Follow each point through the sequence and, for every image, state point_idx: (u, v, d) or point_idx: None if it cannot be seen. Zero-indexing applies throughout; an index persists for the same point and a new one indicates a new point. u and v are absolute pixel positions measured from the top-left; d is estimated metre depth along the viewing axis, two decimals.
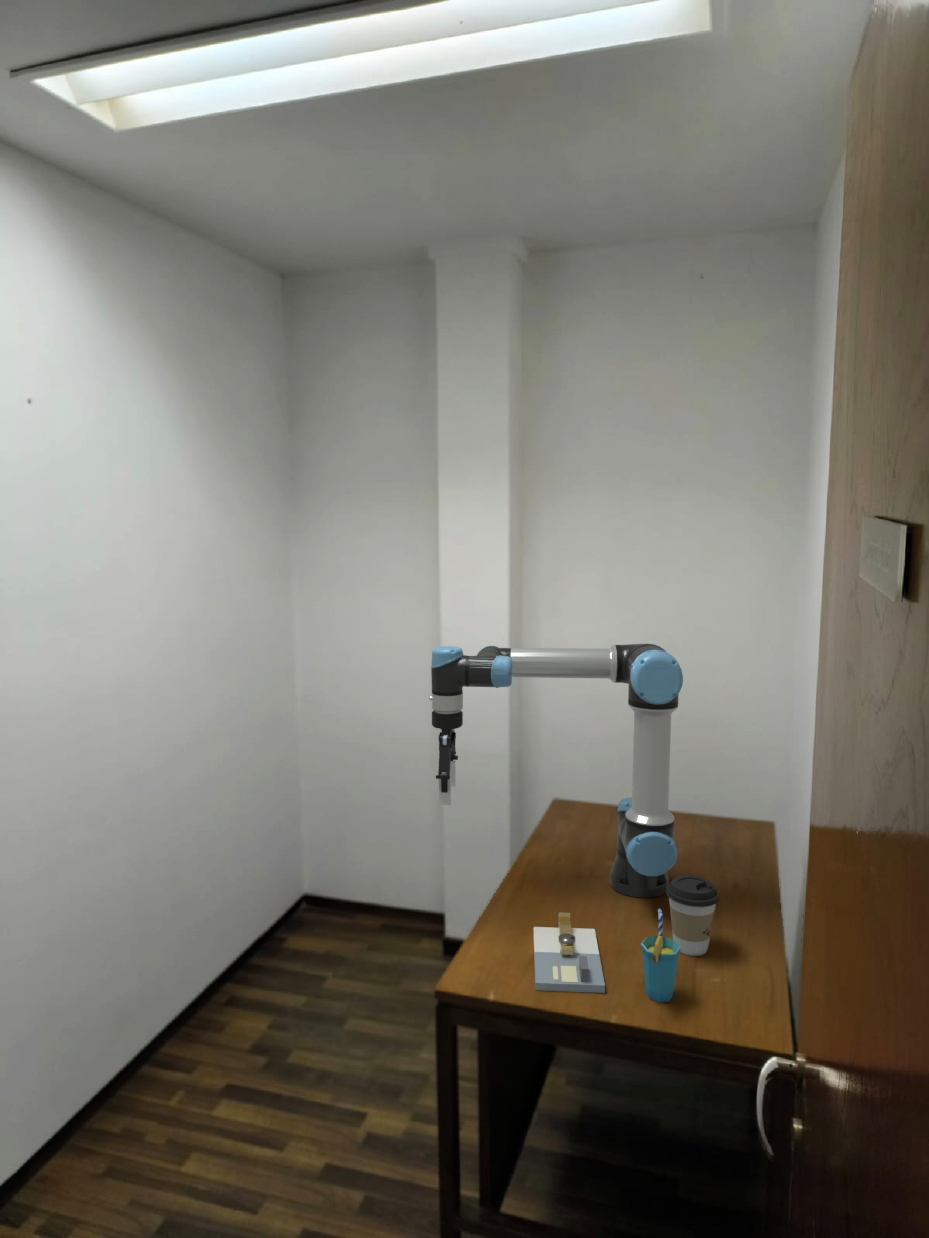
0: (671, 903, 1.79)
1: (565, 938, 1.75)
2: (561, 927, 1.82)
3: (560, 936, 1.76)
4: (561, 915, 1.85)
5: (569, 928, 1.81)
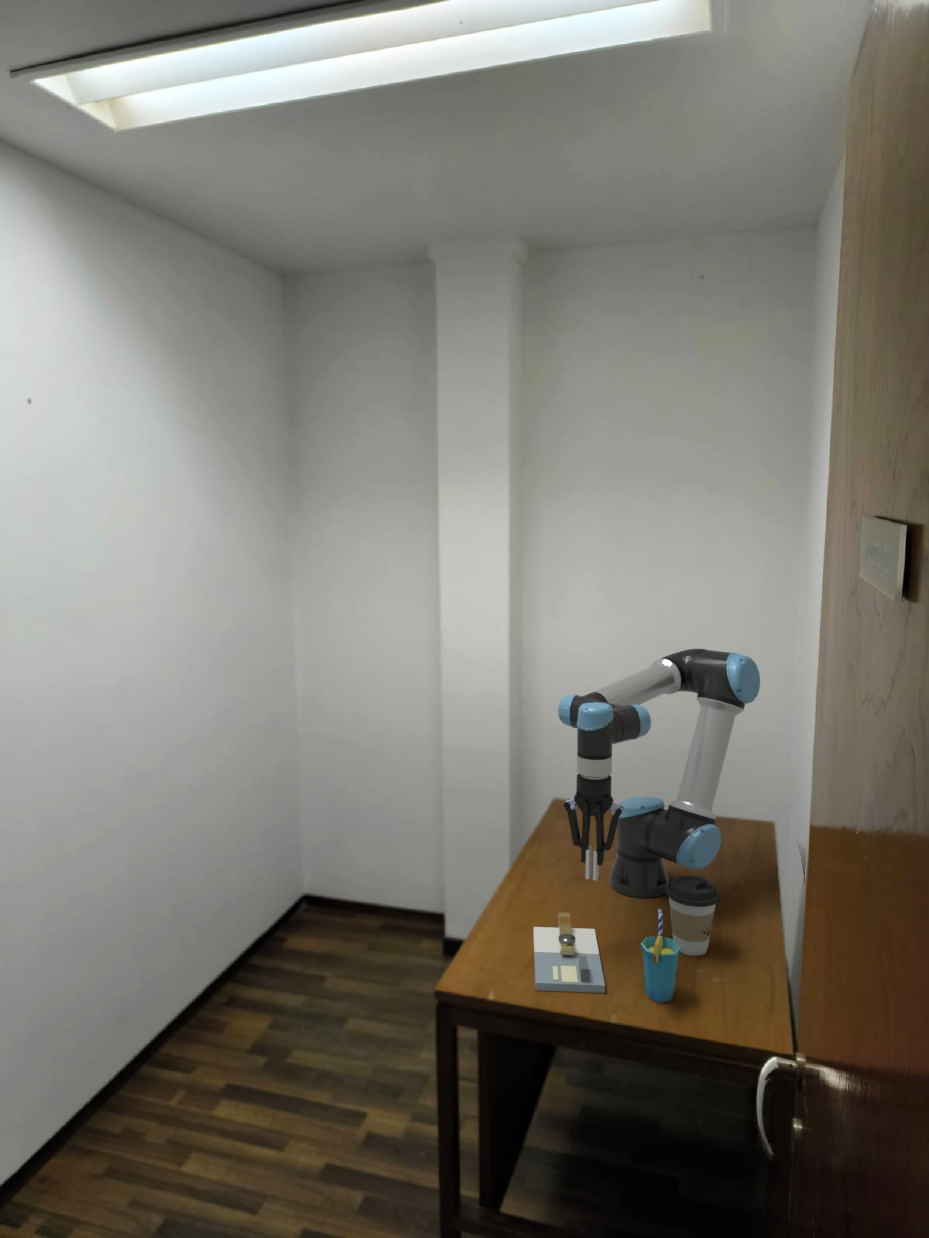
0: (671, 903, 1.79)
1: (565, 938, 1.75)
2: (561, 927, 1.82)
3: (560, 936, 1.76)
4: (561, 915, 1.85)
5: (569, 928, 1.81)
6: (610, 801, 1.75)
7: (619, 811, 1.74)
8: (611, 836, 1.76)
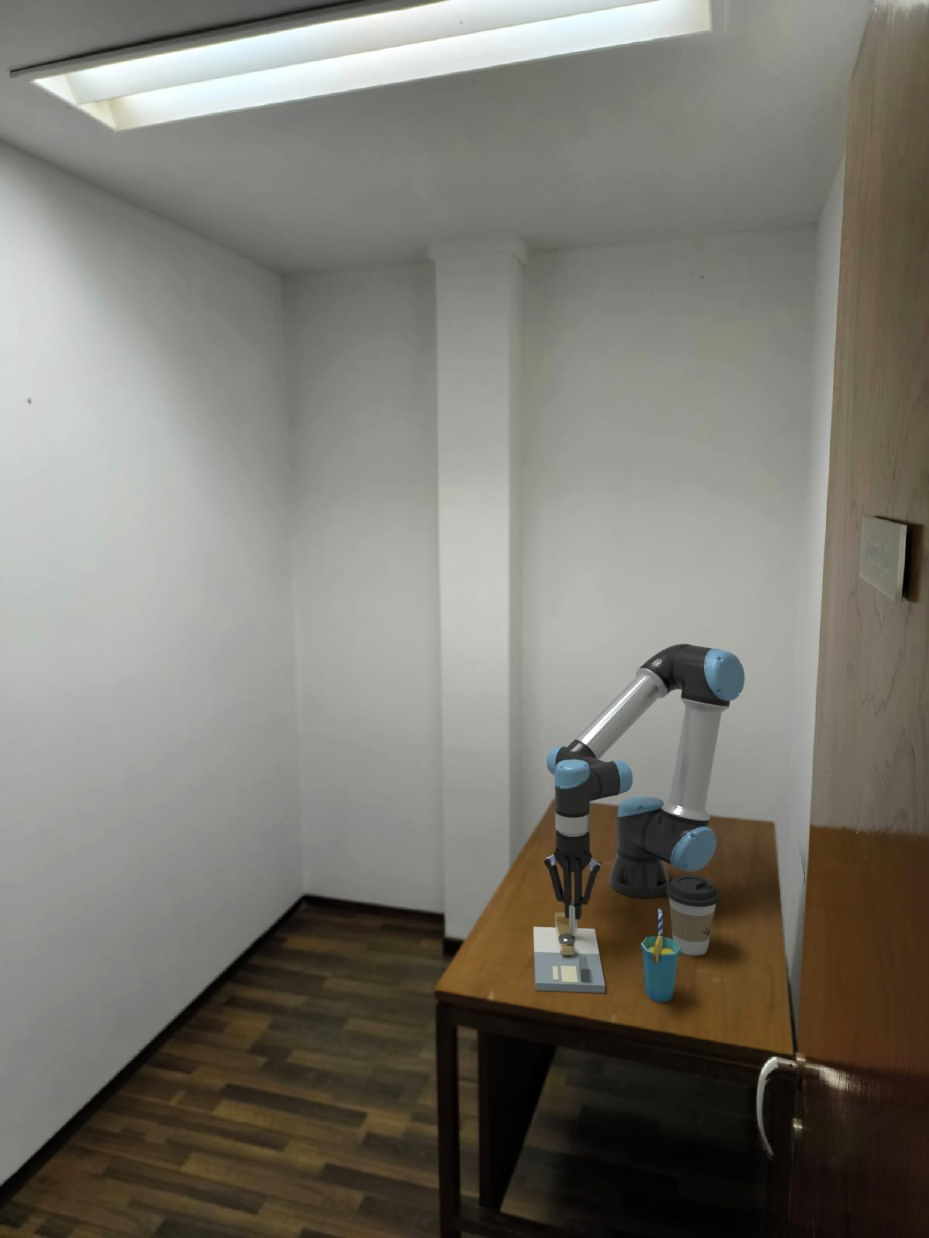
0: (671, 903, 1.79)
1: (565, 938, 1.75)
2: (559, 927, 1.82)
3: (560, 936, 1.76)
4: (558, 915, 1.85)
5: (567, 928, 1.82)
6: (589, 857, 1.78)
7: (597, 867, 1.78)
8: (589, 891, 1.79)
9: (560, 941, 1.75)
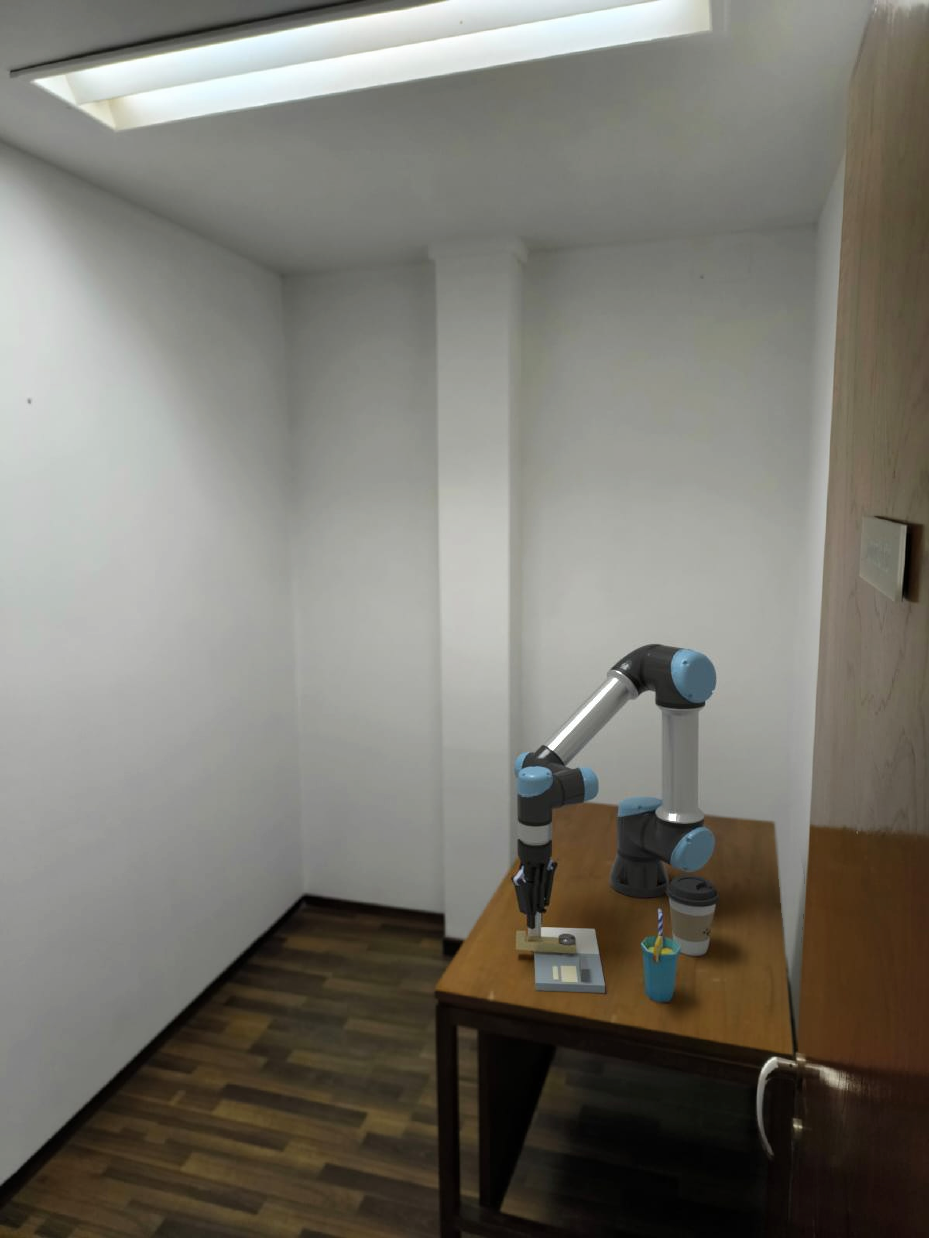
0: (671, 903, 1.79)
1: (568, 938, 1.75)
2: (539, 941, 1.76)
3: (564, 940, 1.75)
4: (522, 935, 1.76)
5: (541, 937, 1.78)
6: (549, 857, 1.79)
7: (556, 864, 1.80)
8: (550, 891, 1.80)
9: (571, 943, 1.74)
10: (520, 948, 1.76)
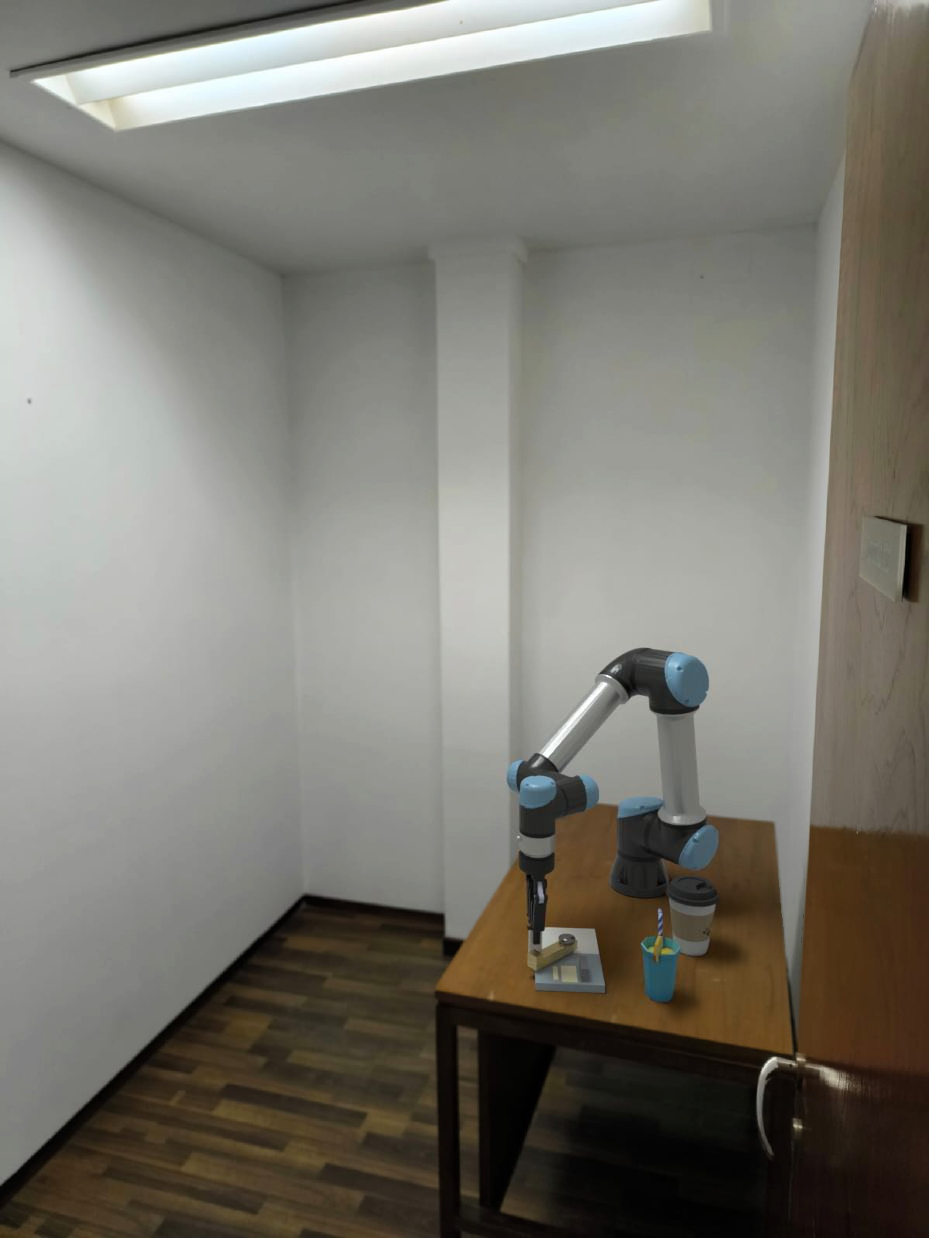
0: (671, 903, 1.79)
1: (569, 937, 1.76)
2: (551, 952, 1.71)
3: (570, 940, 1.75)
4: (539, 953, 1.69)
5: (546, 948, 1.73)
6: None
7: None
8: None
9: (575, 940, 1.75)
10: (539, 967, 1.69)
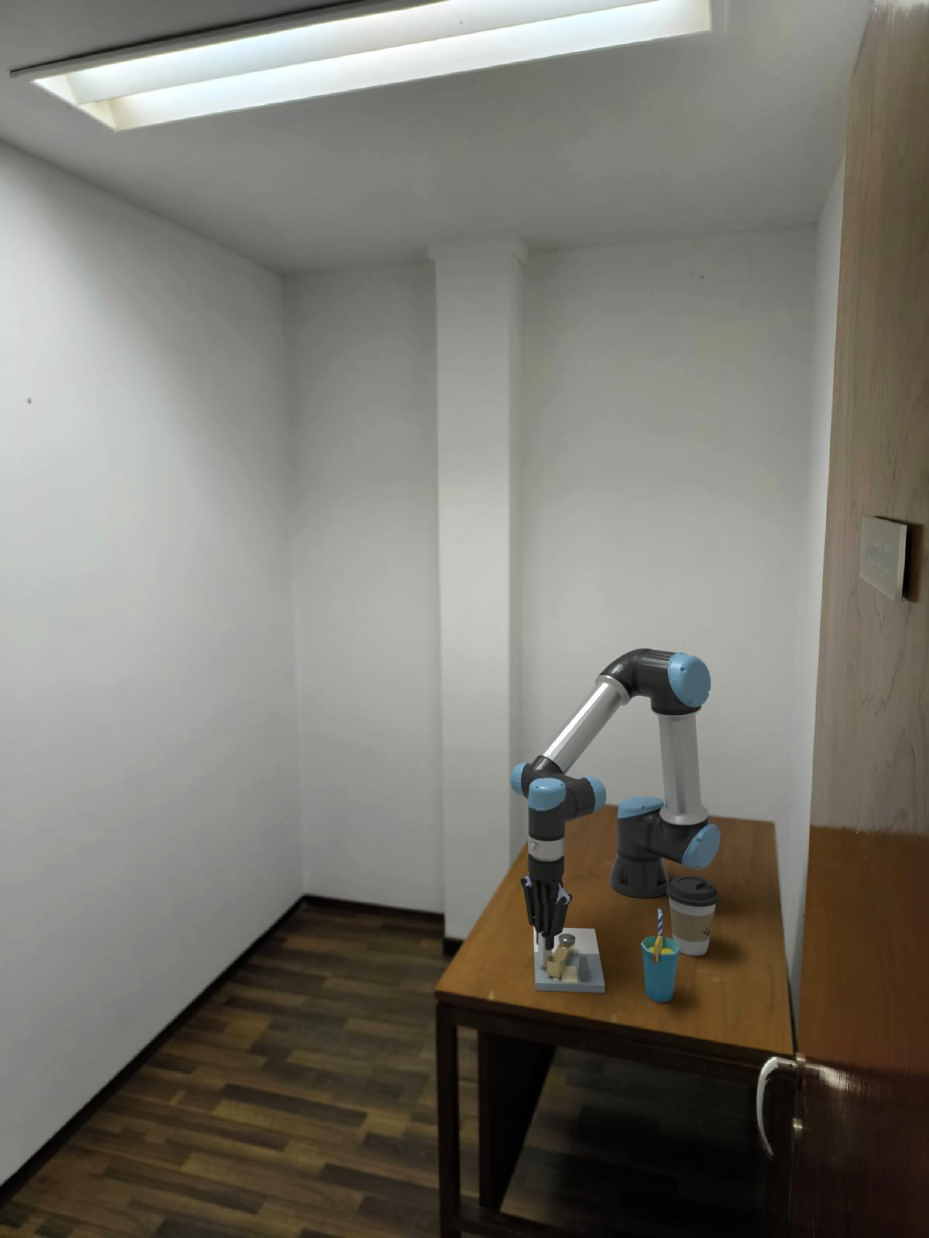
0: (671, 903, 1.79)
1: (568, 936, 1.76)
2: (563, 955, 1.70)
3: (572, 939, 1.75)
4: (558, 959, 1.67)
5: (555, 953, 1.71)
6: None
7: None
8: None
9: None
10: (560, 973, 1.66)
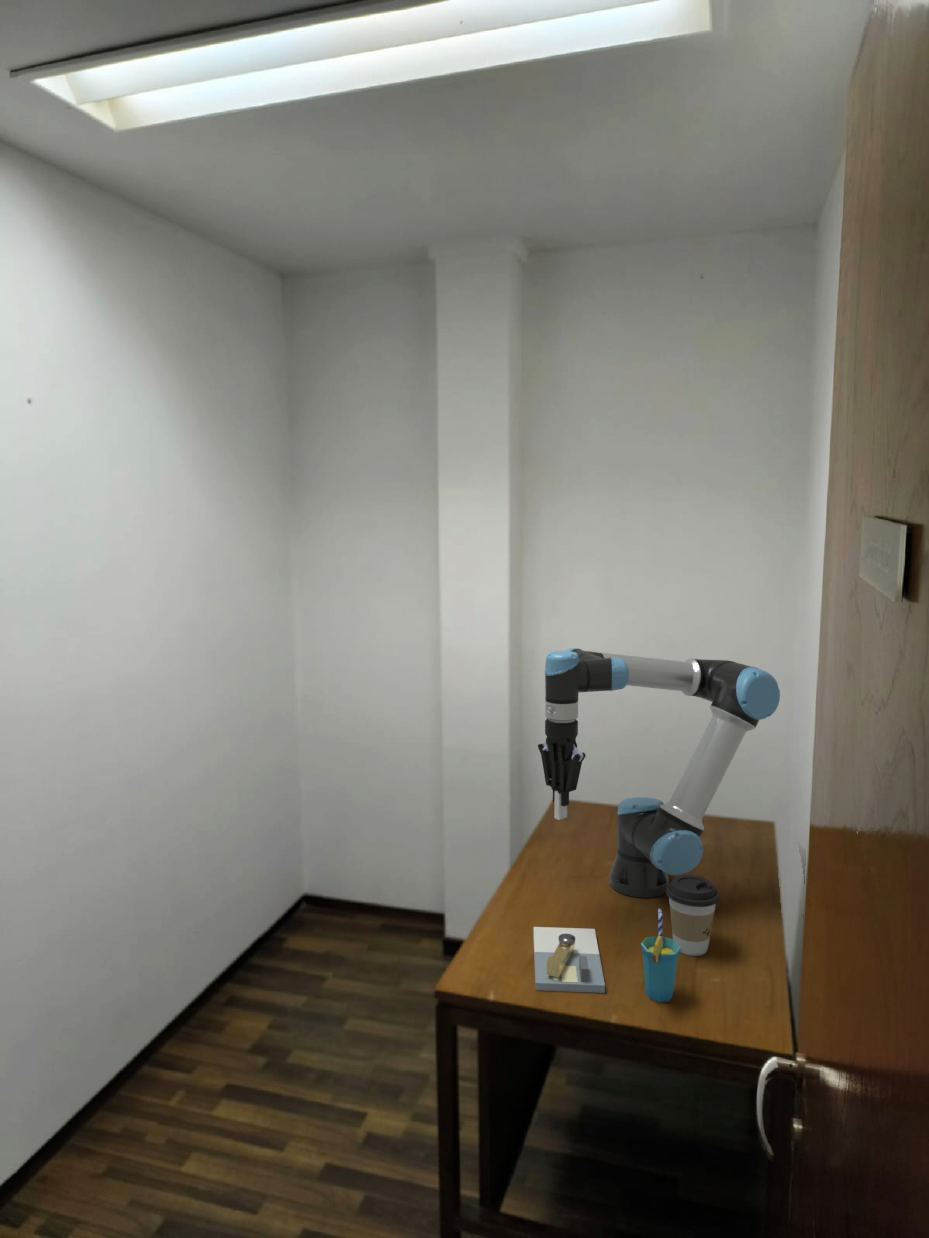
0: (671, 903, 1.79)
1: (568, 936, 1.76)
2: (563, 955, 1.70)
3: (572, 939, 1.75)
4: (558, 959, 1.67)
5: (555, 953, 1.71)
6: None
7: None
8: None
9: None
10: (560, 973, 1.66)
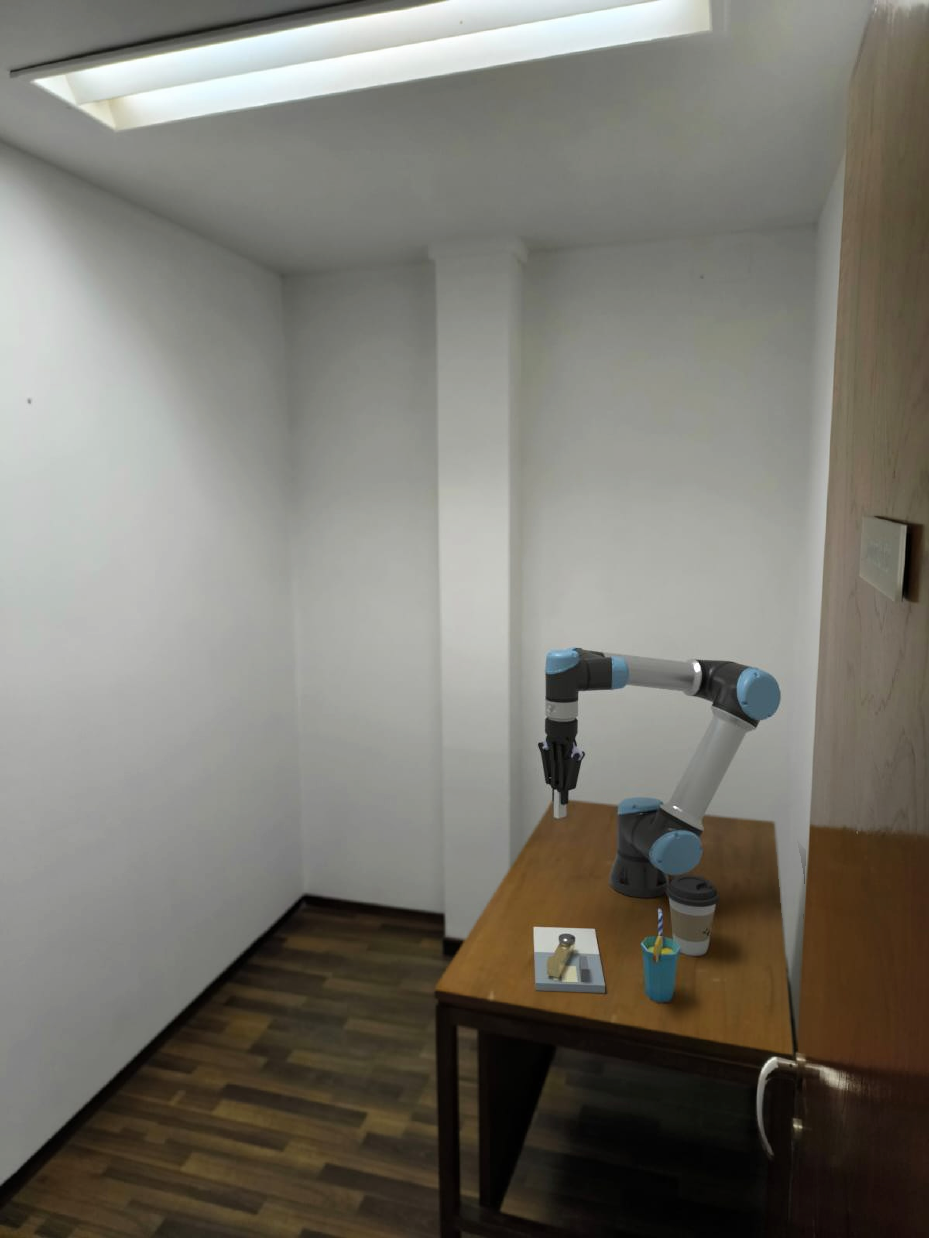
0: (671, 903, 1.79)
1: (568, 936, 1.76)
2: (563, 955, 1.70)
3: (572, 939, 1.75)
4: (558, 959, 1.67)
5: (555, 953, 1.71)
6: None
7: None
8: None
9: None
10: (560, 973, 1.66)
